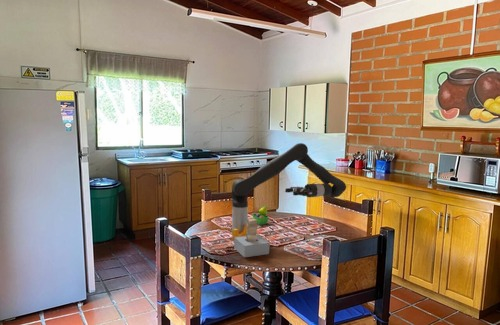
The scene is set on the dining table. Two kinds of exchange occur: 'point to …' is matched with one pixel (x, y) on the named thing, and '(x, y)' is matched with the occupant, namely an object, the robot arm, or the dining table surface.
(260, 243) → the grey square socket block
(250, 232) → the wooden bar
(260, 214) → the fruit basket
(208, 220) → the dining table surface
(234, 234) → the pipe clamp
